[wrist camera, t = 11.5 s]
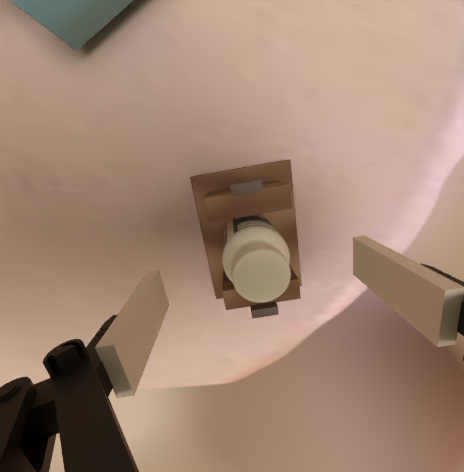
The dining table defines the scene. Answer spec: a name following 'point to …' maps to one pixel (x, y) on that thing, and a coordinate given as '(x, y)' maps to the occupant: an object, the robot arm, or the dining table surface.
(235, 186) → the cradle
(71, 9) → the teapot
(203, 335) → the dining table surface
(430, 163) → the dining table surface
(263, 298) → the pill bottle
